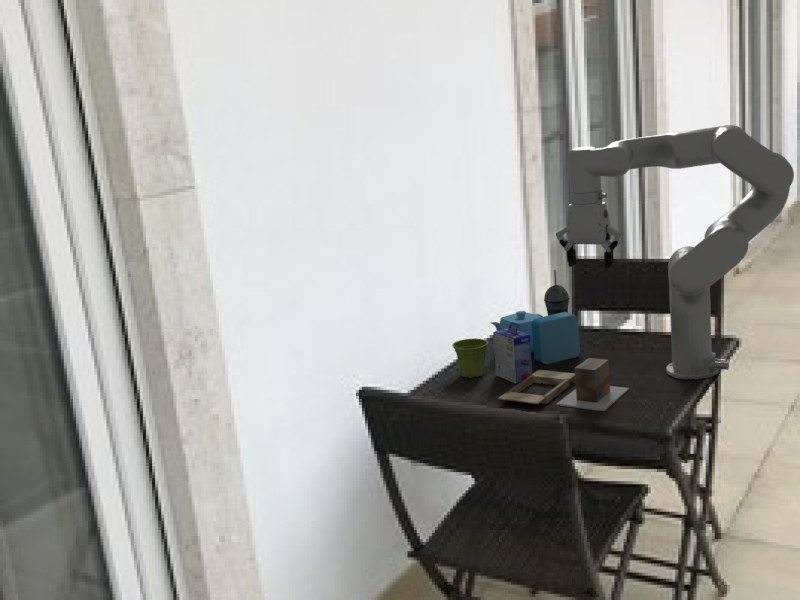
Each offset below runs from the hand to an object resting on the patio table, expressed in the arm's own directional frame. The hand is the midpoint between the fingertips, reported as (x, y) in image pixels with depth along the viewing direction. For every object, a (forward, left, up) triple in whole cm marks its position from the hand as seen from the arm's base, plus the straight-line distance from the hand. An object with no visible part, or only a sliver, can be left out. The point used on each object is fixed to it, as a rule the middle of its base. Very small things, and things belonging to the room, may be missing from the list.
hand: (590, 266), depth 241 cm
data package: (+15, -8, -29) cm, 33 cm away
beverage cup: (+23, -26, -28) cm, 45 cm away
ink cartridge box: (+19, +9, -29) cm, 35 cm away
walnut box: (-6, +16, -28) cm, 33 cm away
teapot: (+28, -11, -29) cm, 42 cm away
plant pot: (+31, +10, -28) cm, 43 cm away
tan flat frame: (+8, +17, -28) cm, 34 cm away
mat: (-6, +16, -28) cm, 33 cm away
